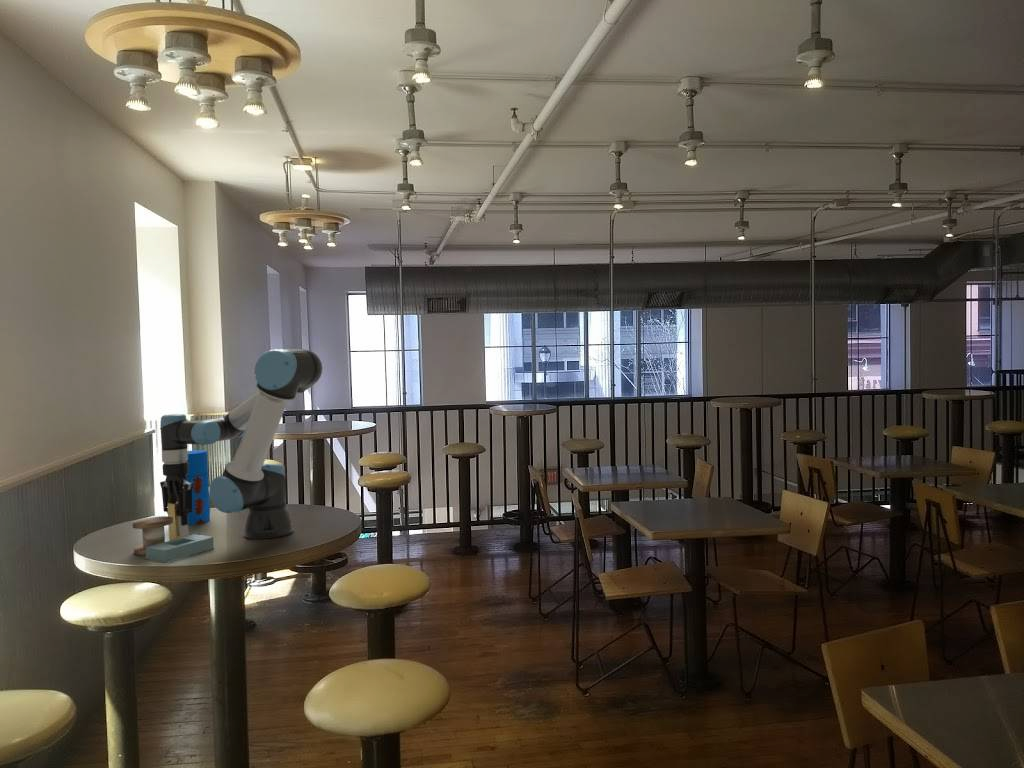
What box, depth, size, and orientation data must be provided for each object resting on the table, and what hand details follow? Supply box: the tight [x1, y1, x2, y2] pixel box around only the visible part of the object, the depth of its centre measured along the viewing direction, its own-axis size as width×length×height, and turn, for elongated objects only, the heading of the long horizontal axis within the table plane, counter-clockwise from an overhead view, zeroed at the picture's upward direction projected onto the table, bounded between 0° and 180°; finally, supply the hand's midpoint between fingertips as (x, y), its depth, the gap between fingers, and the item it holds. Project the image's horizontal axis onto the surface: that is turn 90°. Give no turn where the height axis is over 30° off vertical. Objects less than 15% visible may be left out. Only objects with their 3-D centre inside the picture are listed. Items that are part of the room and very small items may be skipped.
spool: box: [131, 515, 173, 557], centre depth 213 cm, size 11×11×9 cm
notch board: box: [145, 533, 215, 563], centre depth 209 cm, size 16×9×4 cm, turn 151°
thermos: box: [179, 449, 211, 526], centre depth 251 cm, size 11×11×25 cm
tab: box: [167, 501, 190, 541], centre depth 226 cm, size 4×4×12 cm
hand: (178, 534), depth 226 cm, fingers closed on tab, 3 cm apart
